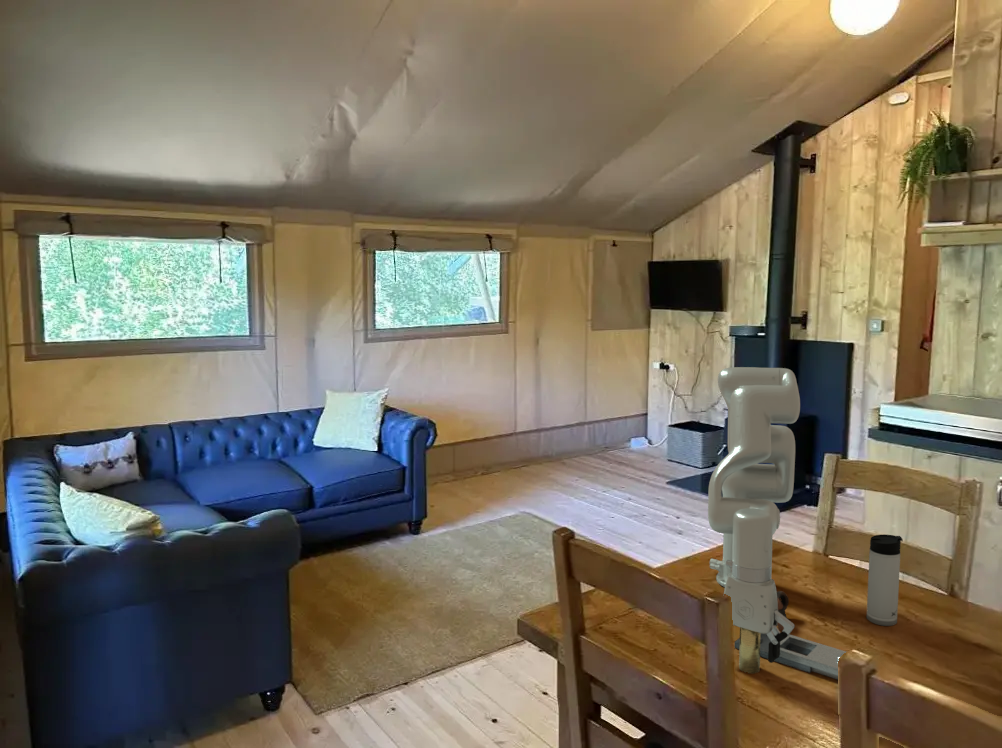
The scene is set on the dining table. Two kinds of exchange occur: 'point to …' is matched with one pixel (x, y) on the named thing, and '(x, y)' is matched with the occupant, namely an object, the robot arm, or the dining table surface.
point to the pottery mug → (782, 606)
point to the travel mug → (883, 579)
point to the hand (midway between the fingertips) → (749, 652)
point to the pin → (749, 651)
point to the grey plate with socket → (816, 660)
